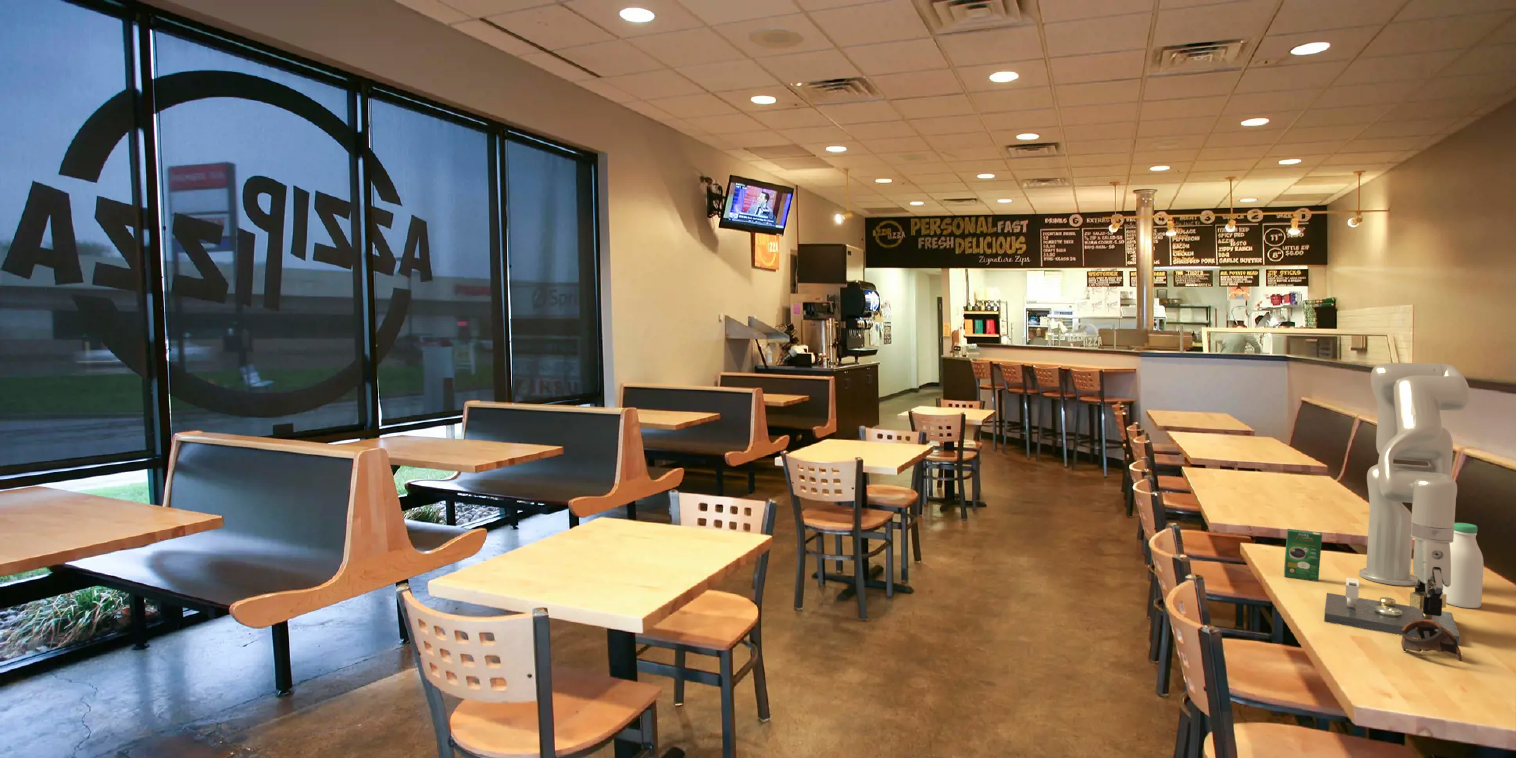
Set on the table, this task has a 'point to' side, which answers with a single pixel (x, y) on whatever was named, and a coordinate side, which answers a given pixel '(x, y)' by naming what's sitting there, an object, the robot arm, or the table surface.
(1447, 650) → the brown curved hollow piece
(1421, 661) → the table surface
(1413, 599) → the wooden bar knob
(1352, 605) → the white t-shaped handle
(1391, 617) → the levelling plate
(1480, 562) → the milk bottle
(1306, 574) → the coffee box
